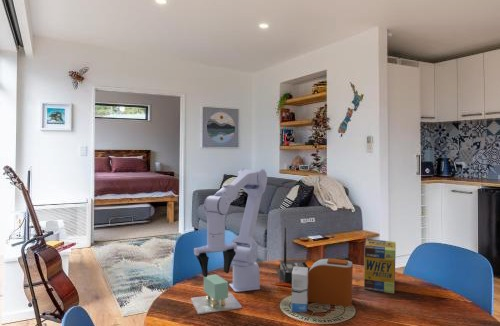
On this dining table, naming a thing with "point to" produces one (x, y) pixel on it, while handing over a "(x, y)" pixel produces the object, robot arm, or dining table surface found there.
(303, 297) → the ink box
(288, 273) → the wireless controller
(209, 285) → the mint green cuboid
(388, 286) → the protein box
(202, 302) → the plate
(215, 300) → the standoff posts
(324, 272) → the brown toaster
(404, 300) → the dining table surface
